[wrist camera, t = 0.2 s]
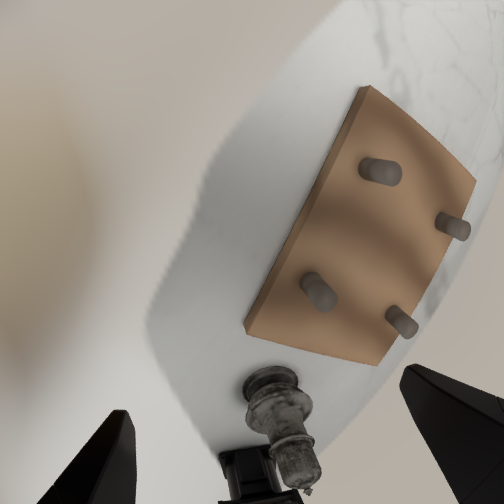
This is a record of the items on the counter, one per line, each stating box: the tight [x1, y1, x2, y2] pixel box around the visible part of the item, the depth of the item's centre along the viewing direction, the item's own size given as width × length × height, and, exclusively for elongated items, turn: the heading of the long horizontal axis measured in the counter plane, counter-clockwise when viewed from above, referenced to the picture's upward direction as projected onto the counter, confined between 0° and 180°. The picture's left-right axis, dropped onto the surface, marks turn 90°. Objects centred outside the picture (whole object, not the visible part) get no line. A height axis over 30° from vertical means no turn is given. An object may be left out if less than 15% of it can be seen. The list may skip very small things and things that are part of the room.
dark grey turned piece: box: [242, 366, 322, 496], centre depth 21 cm, size 6×6×12 cm
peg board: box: [244, 85, 477, 366], centre depth 21 cm, size 20×14×4 cm
